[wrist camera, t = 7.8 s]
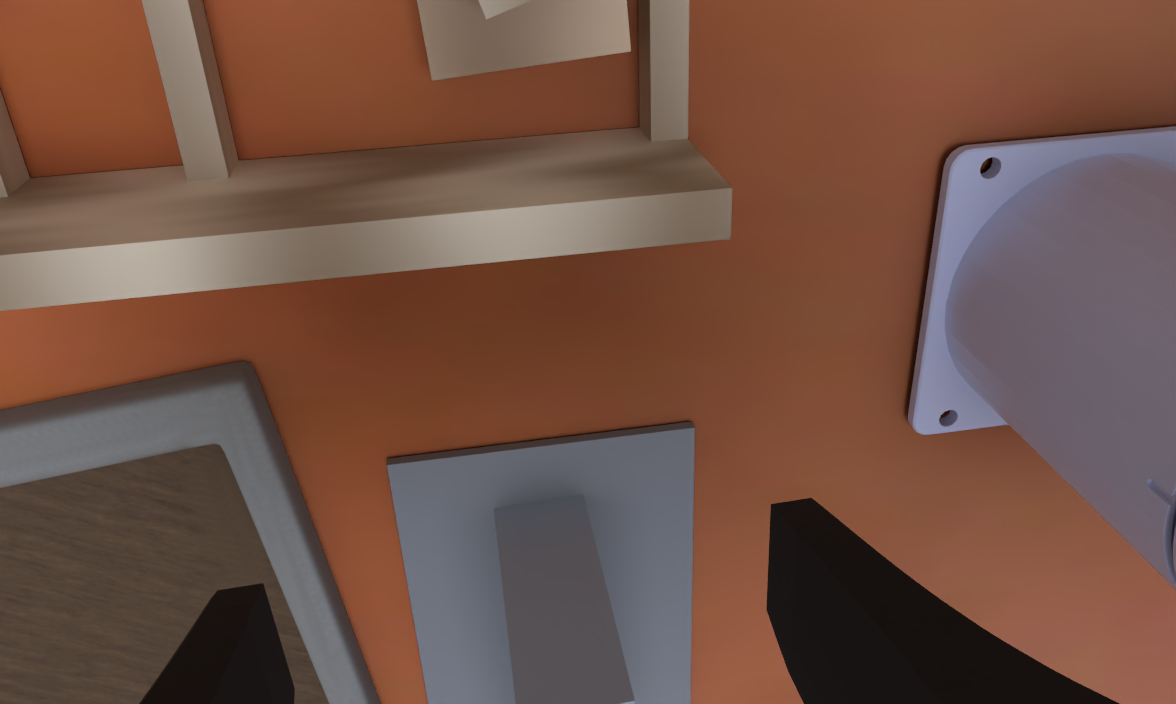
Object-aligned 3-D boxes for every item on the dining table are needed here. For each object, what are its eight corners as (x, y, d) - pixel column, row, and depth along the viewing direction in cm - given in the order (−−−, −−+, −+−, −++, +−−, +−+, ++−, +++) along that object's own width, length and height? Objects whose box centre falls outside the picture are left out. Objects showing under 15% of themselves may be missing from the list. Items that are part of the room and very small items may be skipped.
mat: (691, 421, 25) (694, 427, 25) (687, 730, 31) (689, 738, 31) (387, 458, 24) (386, 465, 24) (441, 770, 30) (441, 778, 30)
